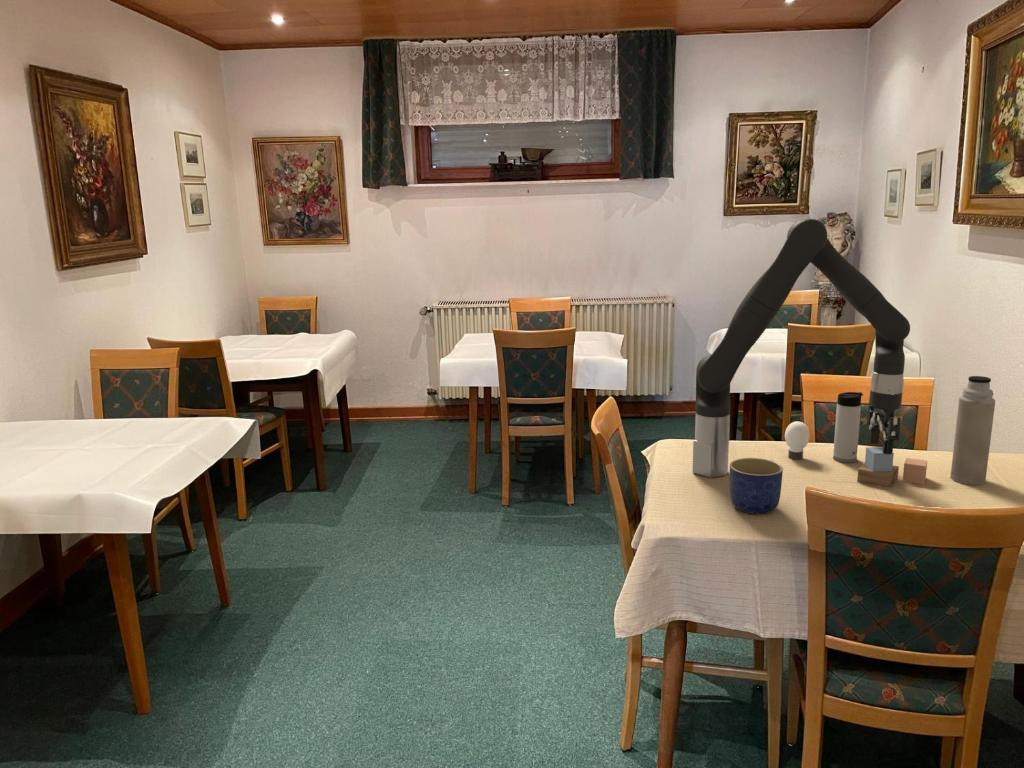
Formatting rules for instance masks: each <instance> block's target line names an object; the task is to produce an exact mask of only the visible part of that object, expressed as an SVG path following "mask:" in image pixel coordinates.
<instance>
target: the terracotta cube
mask: <svg viewBox="0 0 1024 768" xmlns="http://www.w3.org/2000/svg"><path fill="white" fill-rule="evenodd" d="M927 468H928V460H926V459H925V460H924V459H918V458H911V457H906V458H905V460H904V464H903V471H902V482H909V483H915V484H921V485H922V484H923V485H924V484H925V481H926V478H927V477H926V476H927Z"/></svg>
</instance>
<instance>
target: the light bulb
mask: <svg viewBox="0 0 1024 768" xmlns="http://www.w3.org/2000/svg"><path fill="white" fill-rule="evenodd" d="M810 435H811V434H810V430H809V427H808V426H807V425H806V424H805V423H804V422H802V421H800V420H799V421H792V422H791V423H790V424H788V426H787V427H786V429H785V433H784V439H785V443H786V445H787V447H789V449H788V453H787V454H788V455H787V457H788V458H789V459H791V460H803V458H804V448H805V447H807V445H808V443H809V441H810V438H811V437H810Z"/></svg>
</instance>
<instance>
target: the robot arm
mask: <svg viewBox="0 0 1024 768" xmlns="http://www.w3.org/2000/svg"><path fill="white" fill-rule="evenodd" d="M809 264H812V265H813V266H814V267H815V268H816V269H818V270H819V271H820V272H821V273H822V274H823V275H824V276H825V278H826V279H827V280H828V281H829V282H830V283H831V284H832V285H833V286H834V288H835V289H836V290H837V291H838V292H839V293H840V295H842V297H843V298H844V299H845V300H846V301H847V302H848V304H850V305H851V307H853V309H855V311H857V313H859V314H860V315H861V316H863V317H864V318H865V319H866V320H867V321H868V323H869V324H870V325H871V326H872V328H874V330H875V332H874V334H875V336H874V337H875V338H874V340H875V342H874V343H875V345H874V346H875V353H874V359H873V370H872V376H871V380H870V390H869V399H868V409H867V410H868V411H867V418H866V425H867V426H868V428H869V430H870V431H869V432H870V433H869V443H870V445H871V444H872V445H877V444H878V443H880V434H881V433H882V434H883V443H882V447H883V453H884V454H892V453H894V452H893V451H894V443H895V442H894V441H900V432H901V431H900V430H901V417H896V416H895V411H896V410H899V409H901V407H902V401H903V400H902V399H903V394H904V393H903V392H904V391H903V390H904V383H905V382H904V380H905V379H904V372H905V362H906V359H905V357H906V356H905V352H904V342H905V339H906V338H907V337H908V336H909V334H910V333H911V323H910V322H909V320H908V318H906V317H905V316H904V315H903V314H902V313H901V312H900V310H898V309H897V308H896V307H895V306H894V305H893V304H892V303H890V302H889V301H888V300H887V298H886V297H885V296H884V294H883V293H882V292H881V291H880V290H879V289H878V288H877V287H876V286H875V285H874V284H873V283H872V282H871V280H869V278H867V277H866V276H865V275H864V274H863V273H862V272H860V270H858V269H857V268H856V267H855V266H854V265H852V264H851V263H850V262H849V261H848V260H846V258H845V257H844V256H843V255H842V254H841V253H840V252H839V251H838V250H837V248H835V247H834V246H833V244H832V243H831V241H830V239H829V238H828V230H827V228H826V225H825V224H824V223H823V222H822V221H820V220H818V219H815V218H804V219H800V220H798V221H795V222H794V223H793V224H792V225H790V227H789V229H788V231H787V234H786V240H785V242H784V244H783V246H782V247H781V249H780V251H779V253H778V255H777V257H776V258H775V259H774V261H772V264H771V265H770V266H769V267H768V268H767V270H766V271H765V272H763V274H762V275H760V277H759V278H758V279H757V280H756V281H755V283H754V284H753V285H752V287H750V289H748V292H747V294H746V295H745V297H744V298H743V299H742V300H741V302H740V304H739V305H738V307H737V308H736V311H734V314H733V317H732V319H731V321H730V323H729V325H728V327H727V330H726V332H725V335H724V336H723V338H722V339H721V342H720V343H719V344H718V346H717V347H716V348H715V350H713V352H712V353H711V354H707V355H705V356H703V358H701V359H700V360H699V362H698V364H697V366H696V373H695V420H694V421H695V423H694V424H695V429H694V440H693V442H692V444H693V445H692V474H695V473H697V474H696V475H699V474H700V475H699V476H702V475H703V476H702V477H706V478H709V479H712V478H719V477H725V476H726V475H728V473H729V453H730V452H729V447H730V446H729V445H730V424H731V383H732V381H733V379H734V377H735V375H736V373H737V371H738V370H739V368H740V366H741V364H742V362H743V360H744V358H746V355H747V354H748V352H749V351H750V350H751V349H752V347H753V346H754V345H755V344H756V343H757V342H758V341H759V339H760V337H761V336H762V335H763V333H764V332H765V331H766V329H767V328H768V327H769V325H770V324H771V322H772V321H773V319H775V317H776V315H777V314H778V313H779V311H780V309H781V308H782V306H783V305H784V303H785V302H786V299H788V296H789V295H790V293H791V292H792V290H793V288H794V286H795V284H796V282H797V281H798V279H799V277H800V276H801V275H802V273H804V271H805V269H806V268H807V267H808V266H809Z"/></svg>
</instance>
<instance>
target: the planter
mask: <svg viewBox="0 0 1024 768" xmlns="http://www.w3.org/2000/svg"><path fill="white" fill-rule="evenodd" d="M783 473H784V468H783V466H782V465H781V464H780V463H778V462H776V461H773V460H769V459H764V458H760V457H759V458H756V457H746V458H745V457H744V458H738V459H735V460H733V461H731V462H730V464H729V493H730V501H731V504H732V506H734V507H735V508H736V509H737V510H739V511H741V512H743V513H748V514H753V515H754V514H755V515H756V514H757V515H762V514H768V513H771V512H773V511H775V510H776V509H777V507H778V505H779V504H780V499H781V492H782V482H783Z"/></svg>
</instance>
